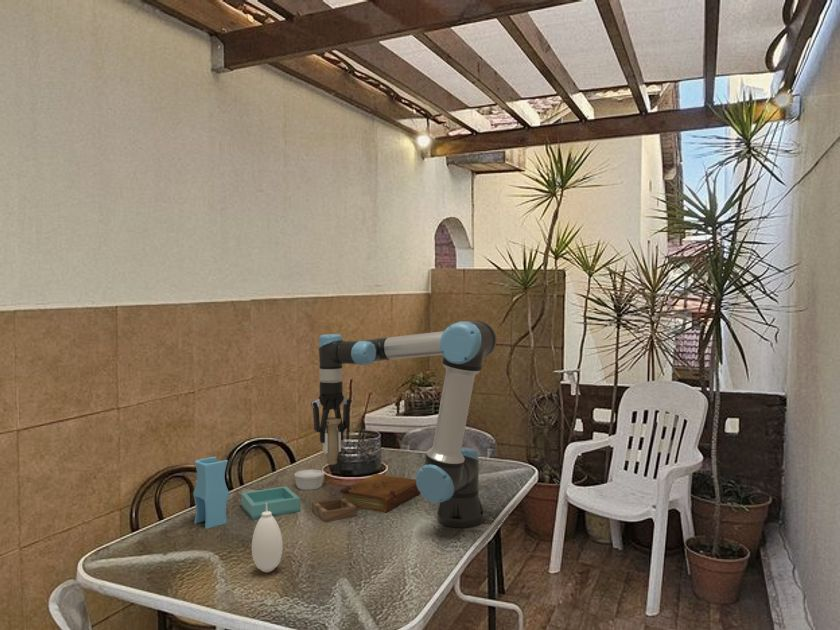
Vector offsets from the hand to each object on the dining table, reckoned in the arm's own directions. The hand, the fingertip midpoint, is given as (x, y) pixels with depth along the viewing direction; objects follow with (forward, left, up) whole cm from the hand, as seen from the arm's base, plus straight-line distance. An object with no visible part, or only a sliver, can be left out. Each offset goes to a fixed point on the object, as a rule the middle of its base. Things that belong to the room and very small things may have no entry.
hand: (331, 451), depth 206 cm
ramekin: (+34, -3, -21) cm, 40 cm away
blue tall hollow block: (+12, +37, -21) cm, 44 cm away
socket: (0, 0, -21) cm, 21 cm away
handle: (0, 0, -4) cm, 4 cm away
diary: (+6, -20, -21) cm, 30 cm away
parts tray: (+16, +17, -21) cm, 31 cm away
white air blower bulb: (-33, +31, -21) cm, 50 cm away
